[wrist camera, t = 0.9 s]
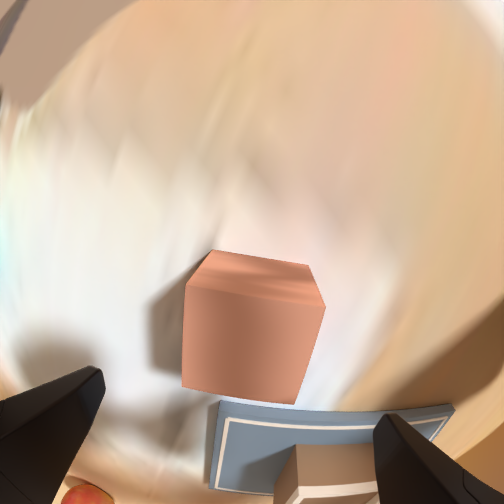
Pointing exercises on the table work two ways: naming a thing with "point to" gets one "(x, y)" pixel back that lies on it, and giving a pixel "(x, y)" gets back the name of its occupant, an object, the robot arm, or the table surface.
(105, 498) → the apple
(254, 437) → the blueprint board
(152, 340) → the table surface
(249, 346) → the terracotta block
